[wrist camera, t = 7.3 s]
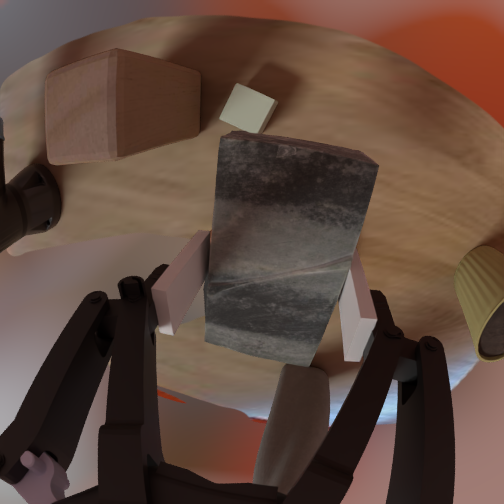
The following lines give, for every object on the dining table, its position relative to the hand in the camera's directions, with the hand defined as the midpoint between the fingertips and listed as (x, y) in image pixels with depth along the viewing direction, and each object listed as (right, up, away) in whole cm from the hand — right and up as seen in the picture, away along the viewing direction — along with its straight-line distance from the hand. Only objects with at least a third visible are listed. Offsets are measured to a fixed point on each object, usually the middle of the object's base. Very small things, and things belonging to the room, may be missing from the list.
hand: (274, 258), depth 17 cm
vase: (+9, -25, +38) cm, 47 cm away
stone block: (0, +1, +3) cm, 3 cm away
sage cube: (-1, +19, +17) cm, 26 cm away
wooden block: (-13, +22, +18) cm, 31 cm away
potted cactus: (+39, -3, +21) cm, 44 cm away
